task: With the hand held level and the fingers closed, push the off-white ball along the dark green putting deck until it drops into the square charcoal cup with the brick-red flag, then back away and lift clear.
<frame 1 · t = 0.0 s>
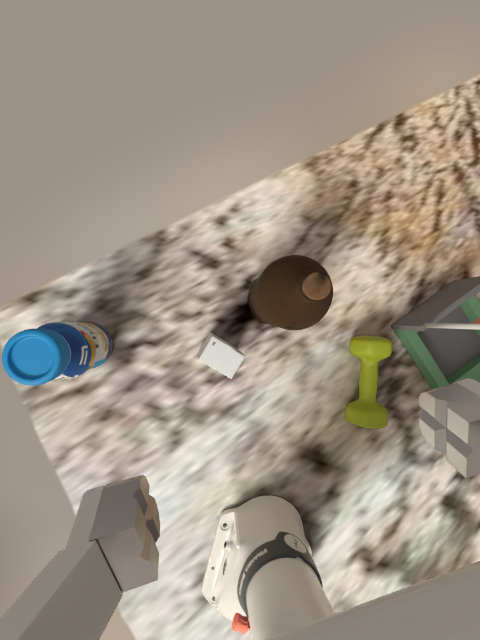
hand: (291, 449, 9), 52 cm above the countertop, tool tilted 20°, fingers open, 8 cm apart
olive oil: (272, 299, 63), on the countertop
putting green: (446, 340, 66), on the countertop
beverage bottle: (89, 344, 59), on the countertop
skincare box: (218, 349, 61), on the countertop
dumbbell: (358, 376, 65), on the countertop
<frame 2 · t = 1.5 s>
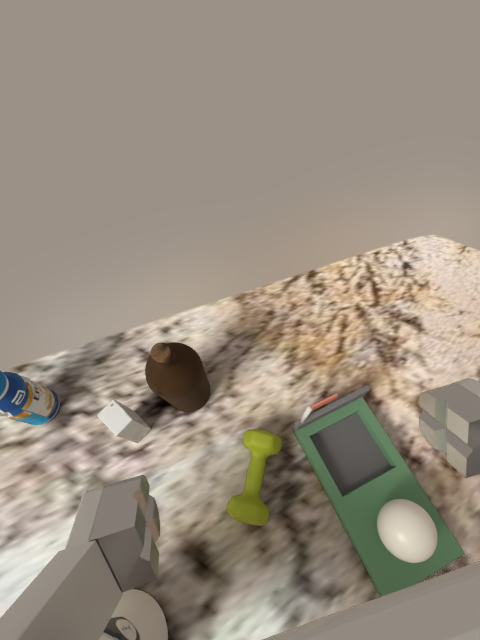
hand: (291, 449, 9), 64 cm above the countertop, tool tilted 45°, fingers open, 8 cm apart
olive oil: (190, 391, 76), on the countertop
putting green: (348, 452, 68), on the countertop
beverage bottle: (43, 407, 76), on the countertop
ball: (406, 529, 55), point 7 cm above the countertop, touching putting green
skincare box: (136, 427, 73), on the countertop
dumbbell: (255, 475, 67), on the countertop
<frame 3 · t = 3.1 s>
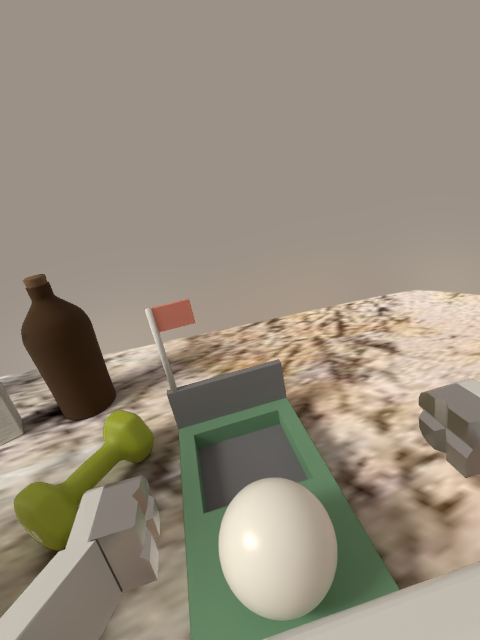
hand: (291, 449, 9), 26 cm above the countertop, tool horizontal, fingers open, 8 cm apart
olive oil: (91, 404, 62), on the countertop
putting green: (250, 471, 41), on the countertop
ball: (276, 541, 26), point 7 cm above the countertop, touching putting green
skincare box: (10, 433, 59), on the countertop
dumbbell: (103, 492, 43), on the countertop
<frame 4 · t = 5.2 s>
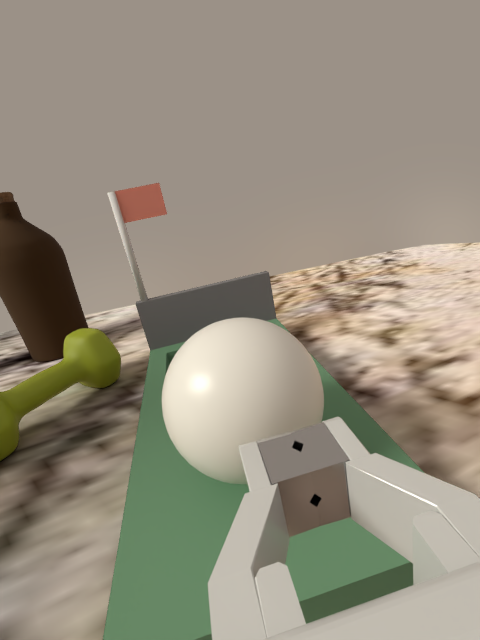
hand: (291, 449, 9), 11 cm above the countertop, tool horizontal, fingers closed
olive oil: (64, 349, 56), on the countertop
putting green: (230, 386, 35), on the countertop
ball: (242, 396, 19), point 7 cm above the countertop, touching putting green
dumbbell: (57, 415, 37), on the countertop
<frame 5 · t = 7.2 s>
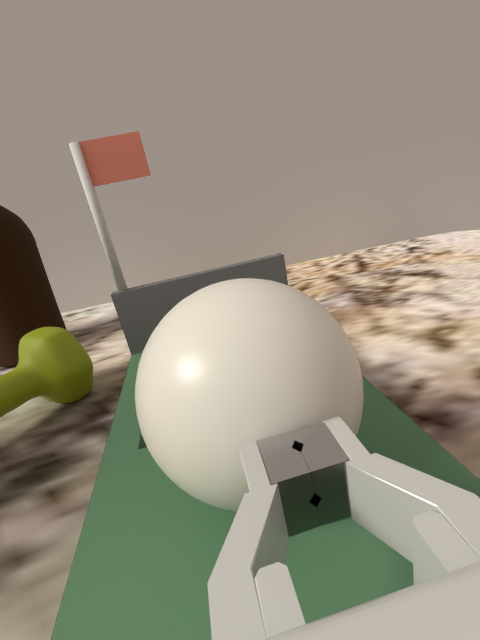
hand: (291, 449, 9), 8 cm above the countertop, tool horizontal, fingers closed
olive oil: (36, 352, 48), on the countertop
putting green: (234, 405, 26), on the countertop
ball: (248, 387, 14), point 7 cm above the countertop, tilted 50°, touching gripper, putting green
dumbbell: (6, 441, 28), on the countertop
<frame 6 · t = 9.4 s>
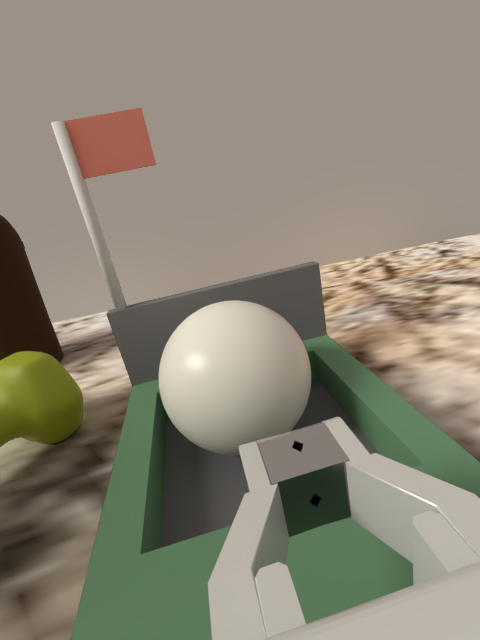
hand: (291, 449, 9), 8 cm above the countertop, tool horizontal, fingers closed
olive oil: (25, 370, 42), on the countertop
putting green: (264, 459, 20), on the countertop
ball: (235, 375, 20), point 5 cm above the countertop, tilted 146°, touching putting green
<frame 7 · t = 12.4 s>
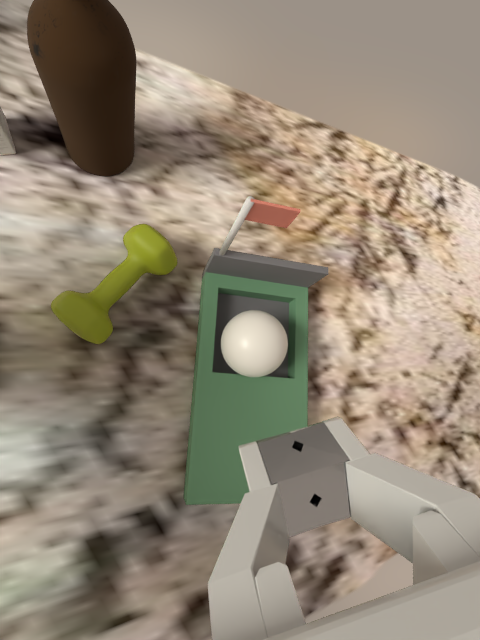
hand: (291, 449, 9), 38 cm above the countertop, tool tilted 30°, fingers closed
olive oil: (102, 149, 50), on the countertop
putting green: (250, 336, 50), on the countertop
ball: (254, 343, 45), point 5 cm above the countertop, tilted 158°, touching putting green
dumbbell: (120, 291, 47), on the countertop
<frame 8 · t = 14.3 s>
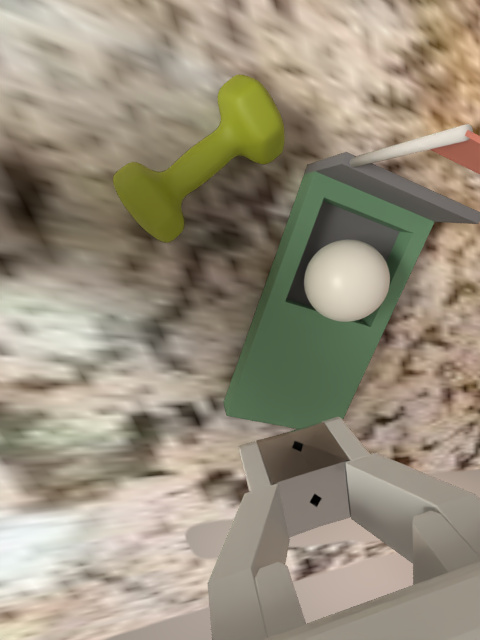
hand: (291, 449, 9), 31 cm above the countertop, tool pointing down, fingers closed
putting green: (337, 263, 41), on the countertop
ball: (345, 281, 37), point 5 cm above the countertop, tilted 161°, touching putting green
dumbbell: (198, 168, 35), on the countertop
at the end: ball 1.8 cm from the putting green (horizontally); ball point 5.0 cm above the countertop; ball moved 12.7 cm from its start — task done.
